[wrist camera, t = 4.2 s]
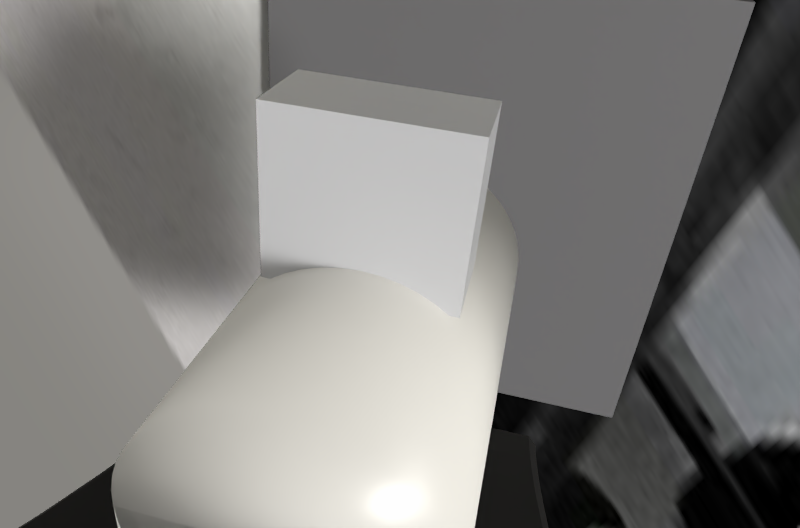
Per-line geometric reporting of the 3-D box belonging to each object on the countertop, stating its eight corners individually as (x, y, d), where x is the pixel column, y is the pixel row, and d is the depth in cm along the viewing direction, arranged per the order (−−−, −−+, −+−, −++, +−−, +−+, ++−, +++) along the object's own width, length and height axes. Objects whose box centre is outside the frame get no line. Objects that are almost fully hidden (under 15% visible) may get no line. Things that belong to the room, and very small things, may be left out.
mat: (611, 410, 19) (611, 417, 19) (278, 336, 20) (274, 342, 20) (752, 0, 13) (755, 2, 13) (272, -61, 15) (266, -60, 14)
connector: (456, 559, 13) (394, 895, 9) (308, 519, 13) (180, 820, 9) (562, 57, 8) (536, 278, 4) (318, 22, 8) (43, 181, 4)
